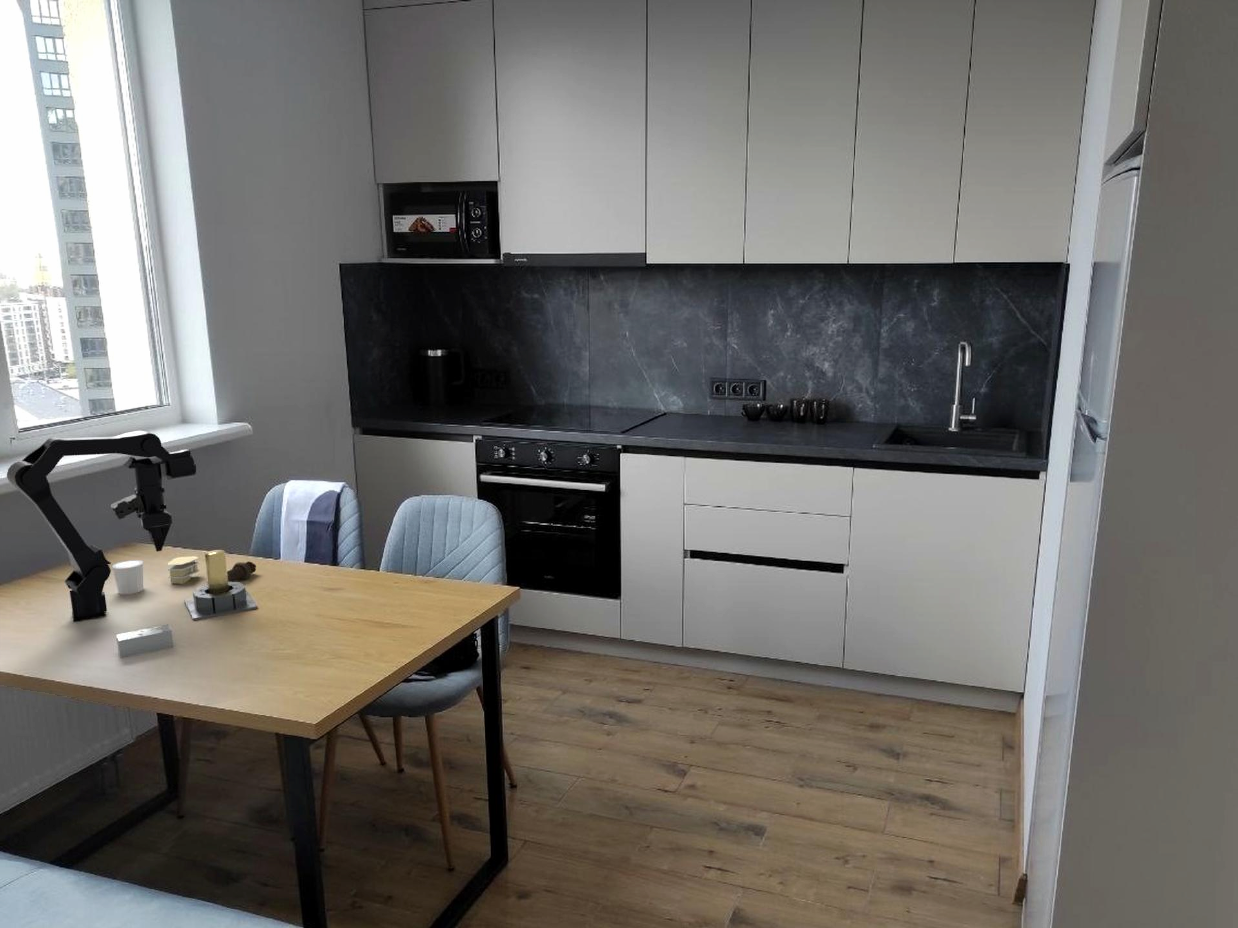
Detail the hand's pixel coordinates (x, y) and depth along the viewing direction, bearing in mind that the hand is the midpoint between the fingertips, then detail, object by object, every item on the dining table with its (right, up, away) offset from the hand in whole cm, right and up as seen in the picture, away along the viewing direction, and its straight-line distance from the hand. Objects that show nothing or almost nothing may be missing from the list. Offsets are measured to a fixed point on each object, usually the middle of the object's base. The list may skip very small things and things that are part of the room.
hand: (156, 546), depth 225 cm
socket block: (+17, -14, -3) cm, 22 cm away
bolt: (+14, -11, +13) cm, 22 cm away
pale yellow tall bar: (+17, -13, -3) cm, 22 cm away
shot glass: (-10, -12, +8) cm, 18 cm away
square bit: (+12, -20, -28) cm, 36 cm away
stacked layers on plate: (-1, -10, +16) cm, 19 cm away
